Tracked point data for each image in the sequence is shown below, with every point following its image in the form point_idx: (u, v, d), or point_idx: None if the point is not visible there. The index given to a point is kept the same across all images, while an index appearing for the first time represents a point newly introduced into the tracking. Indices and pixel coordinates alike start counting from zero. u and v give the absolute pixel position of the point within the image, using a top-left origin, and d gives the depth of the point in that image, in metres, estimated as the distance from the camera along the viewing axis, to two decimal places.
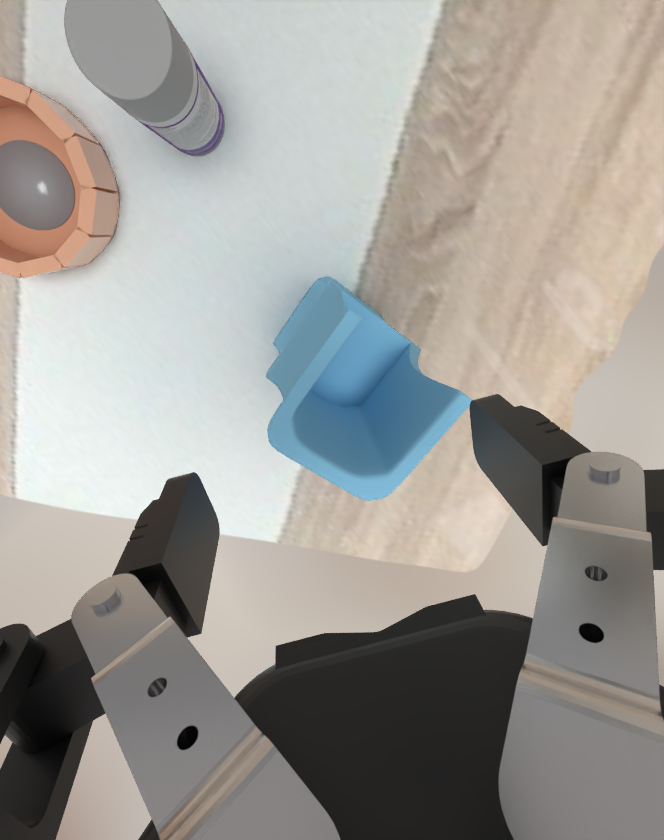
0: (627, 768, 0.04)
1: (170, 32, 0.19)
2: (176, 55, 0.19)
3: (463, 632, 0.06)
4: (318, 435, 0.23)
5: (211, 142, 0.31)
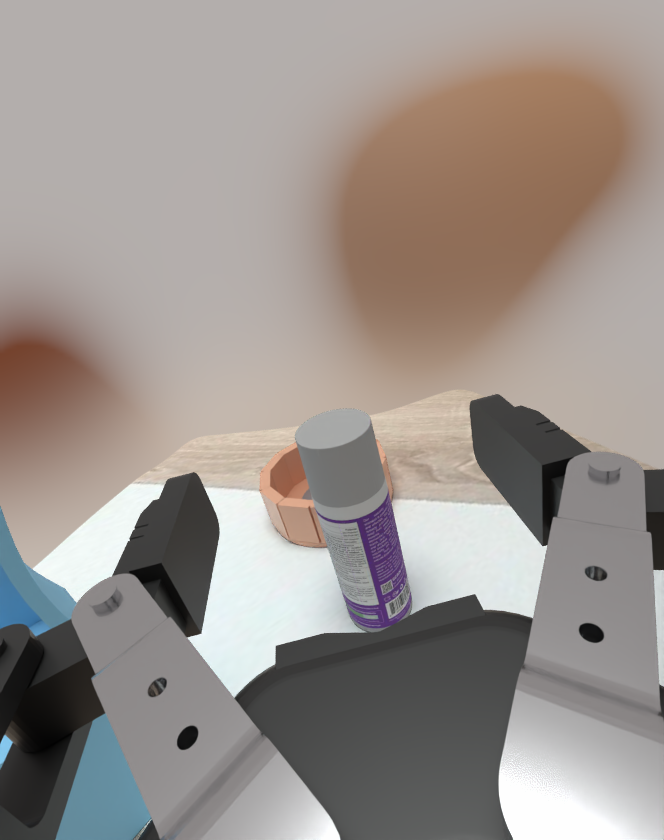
0: (627, 768, 0.04)
1: (333, 447, 0.22)
2: (325, 459, 0.23)
3: (463, 632, 0.06)
4: None
5: (349, 604, 0.29)
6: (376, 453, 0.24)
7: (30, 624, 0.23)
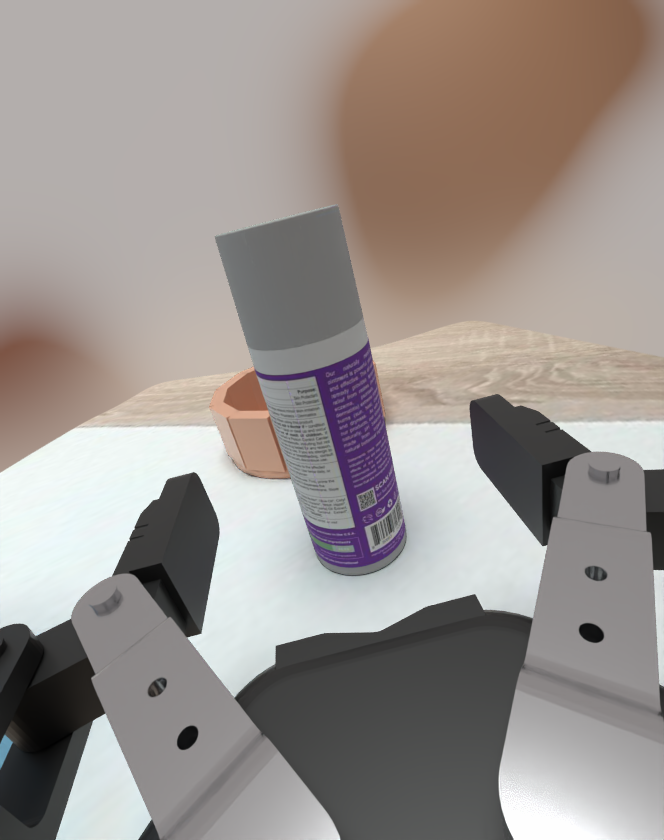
0: (627, 768, 0.04)
1: (269, 224, 0.13)
2: (257, 251, 0.13)
3: (463, 632, 0.06)
4: None
5: (312, 532, 0.20)
6: (347, 262, 0.15)
7: None
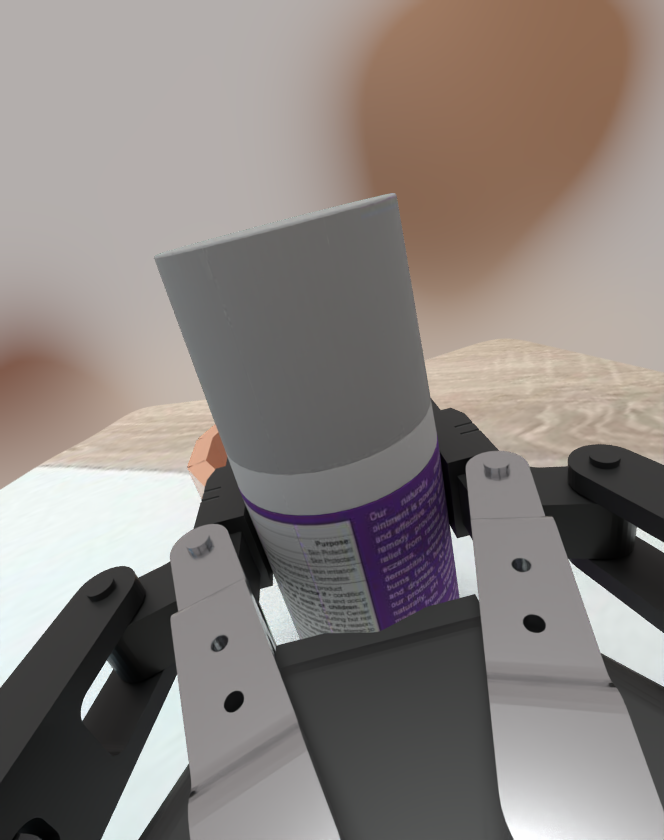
0: (606, 749, 0.04)
1: (260, 234, 0.06)
2: (235, 291, 0.06)
3: (463, 632, 0.06)
4: None
5: None
6: (412, 305, 0.08)
7: None
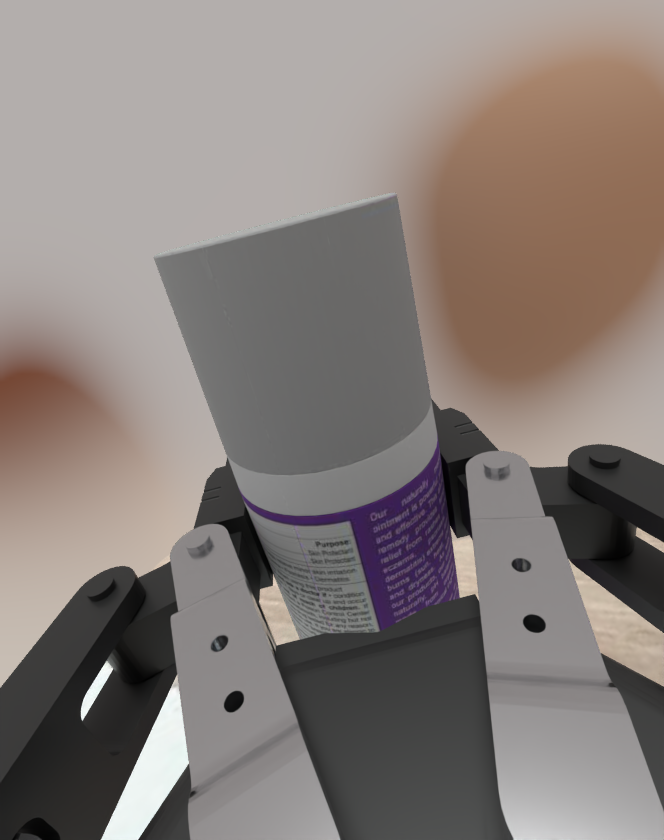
0: (606, 749, 0.04)
1: (260, 234, 0.06)
2: (235, 291, 0.06)
3: (463, 632, 0.06)
4: None
5: None
6: (412, 305, 0.08)
7: None
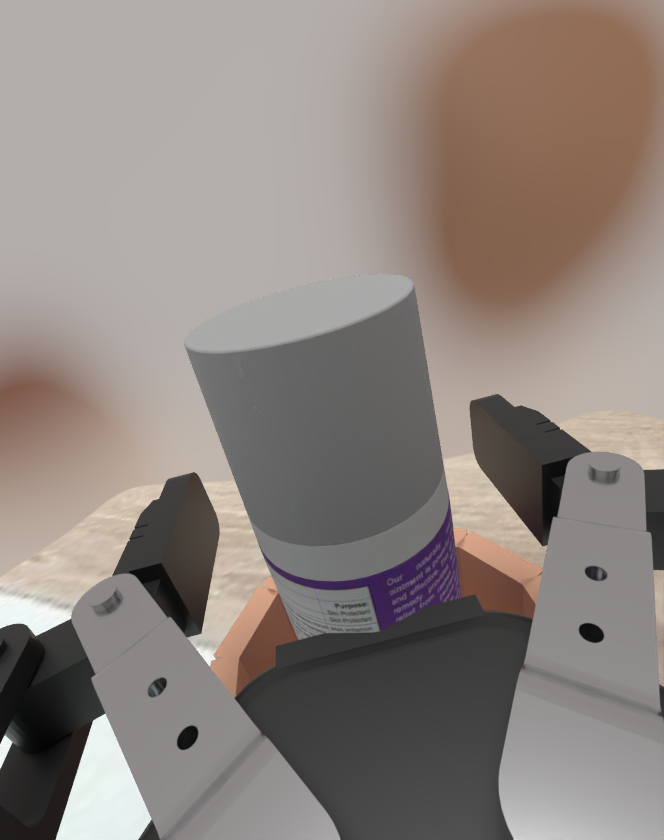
0: (627, 768, 0.04)
1: (291, 343, 0.06)
2: (265, 390, 0.07)
3: (463, 632, 0.06)
4: None
5: None
6: (427, 385, 0.08)
7: None
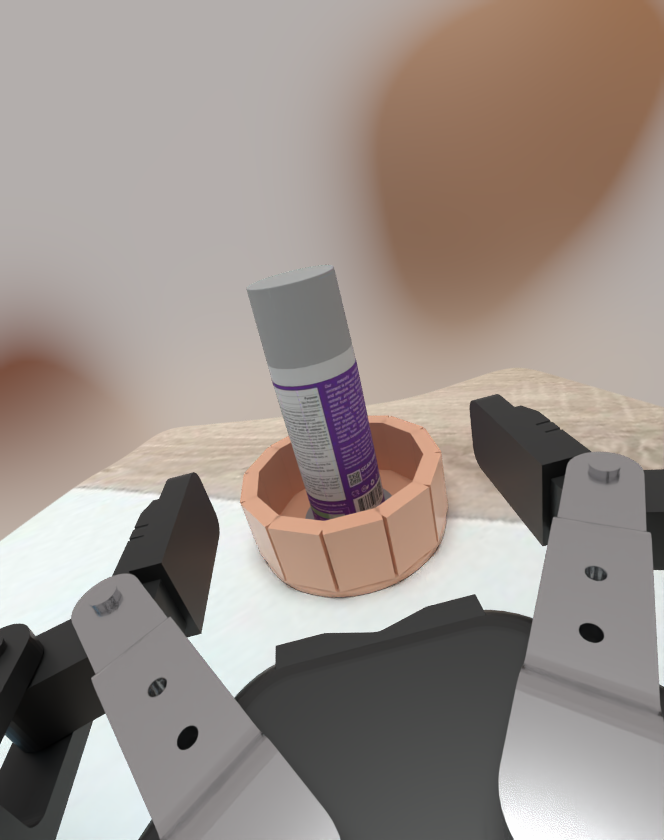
0: (627, 769, 0.04)
1: (287, 285, 0.19)
2: (278, 302, 0.20)
3: (463, 632, 0.06)
4: None
5: (313, 505, 0.26)
6: (340, 307, 0.21)
7: None
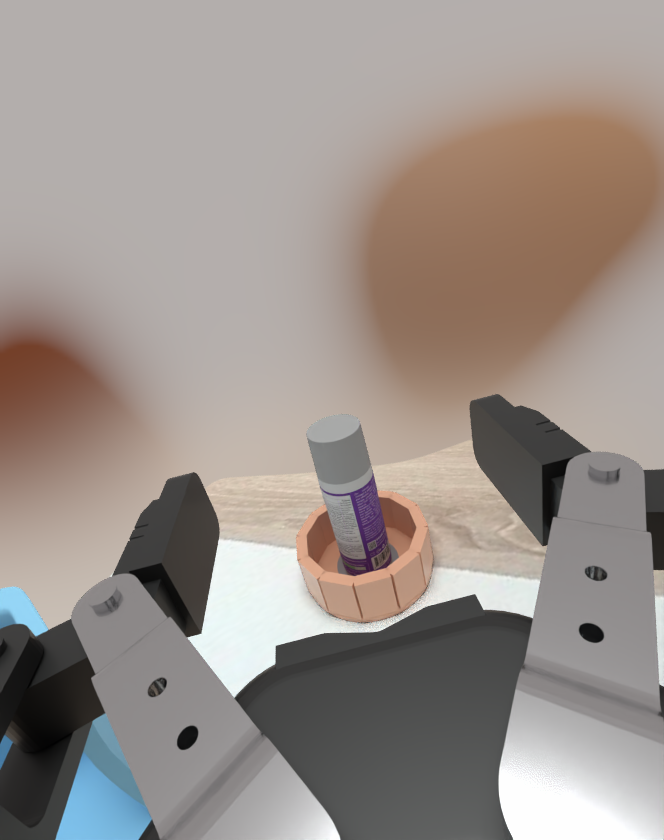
0: (627, 768, 0.04)
1: (333, 441, 0.32)
2: (328, 450, 0.33)
3: (463, 632, 0.06)
4: None
5: (344, 559, 0.39)
6: (364, 446, 0.34)
7: None
